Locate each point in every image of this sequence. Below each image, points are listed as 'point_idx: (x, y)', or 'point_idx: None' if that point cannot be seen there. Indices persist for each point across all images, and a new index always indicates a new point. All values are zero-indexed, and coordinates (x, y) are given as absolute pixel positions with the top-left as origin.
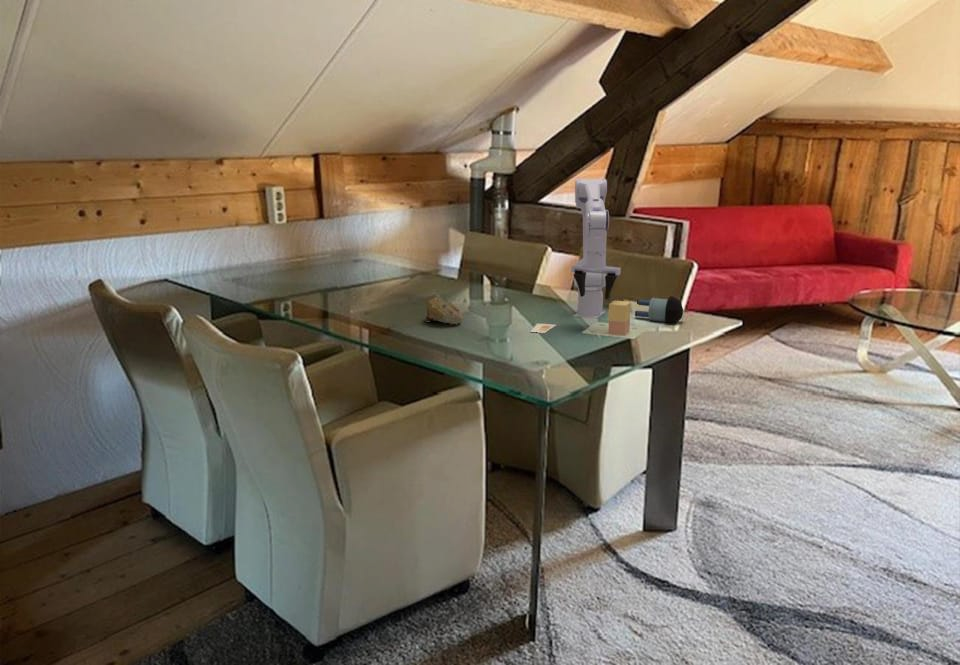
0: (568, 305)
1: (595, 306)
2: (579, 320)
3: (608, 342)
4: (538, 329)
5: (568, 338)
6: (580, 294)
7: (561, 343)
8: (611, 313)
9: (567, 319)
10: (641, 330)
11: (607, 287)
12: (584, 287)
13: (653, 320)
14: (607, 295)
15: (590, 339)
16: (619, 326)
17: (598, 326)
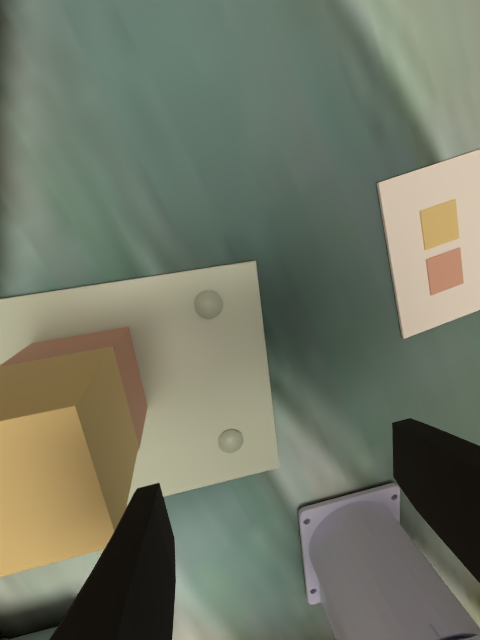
0: (462, 591)
1: (337, 572)
2: (355, 456)
3: (44, 184)
4: (461, 211)
5: (275, 144)
6: (426, 424)
7: (265, 15)
8: (76, 372)
9: None
10: None
11: (85, 630)
12: (460, 546)
13: None
14: (123, 516)
15: (164, 189)
16: (46, 353)
17: (234, 409)
